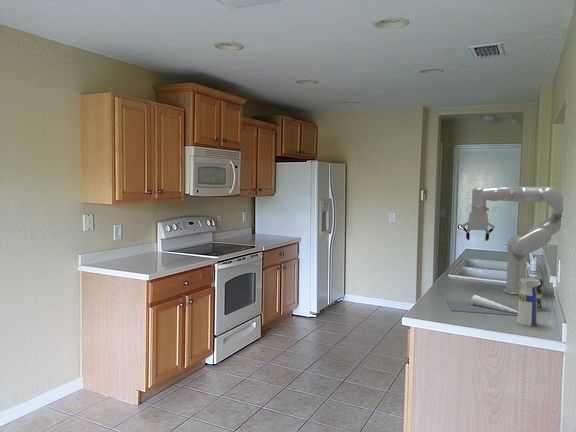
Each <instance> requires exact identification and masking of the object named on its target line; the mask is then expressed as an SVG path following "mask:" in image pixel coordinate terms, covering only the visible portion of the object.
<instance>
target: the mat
mask: <svg viewBox="0 0 576 432" xmlns="http://www.w3.org/2000/svg"><path fill="white" fill-rule="evenodd" d="M447 303H448V306H449V309H450V311H451V312H460V313H461V312H462V313H474V314H488V315H500V316H501V315H502V316H515V317H518V314H517V313H511V312H506V311H501V310H496V309H491V308H487V307H482V306H477V305H473V304H472V303H471V301H457V300H456V301H455V300H454V301H453V300H447ZM502 305H503V306H506V307H509V308H511V309H514V310H516V308H514V307H513V305H511V304H502Z"/></svg>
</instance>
